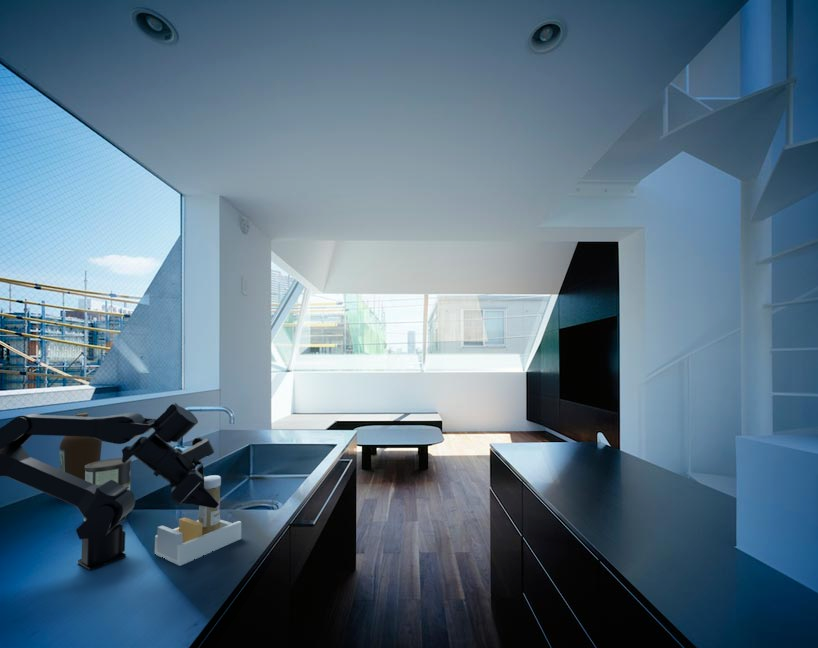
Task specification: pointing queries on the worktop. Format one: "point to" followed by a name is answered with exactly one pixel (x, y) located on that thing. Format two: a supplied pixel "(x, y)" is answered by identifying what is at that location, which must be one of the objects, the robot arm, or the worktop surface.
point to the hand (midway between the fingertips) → (216, 499)
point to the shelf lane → (194, 542)
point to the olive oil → (78, 453)
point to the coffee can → (108, 472)
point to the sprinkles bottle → (207, 514)
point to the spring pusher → (189, 529)
